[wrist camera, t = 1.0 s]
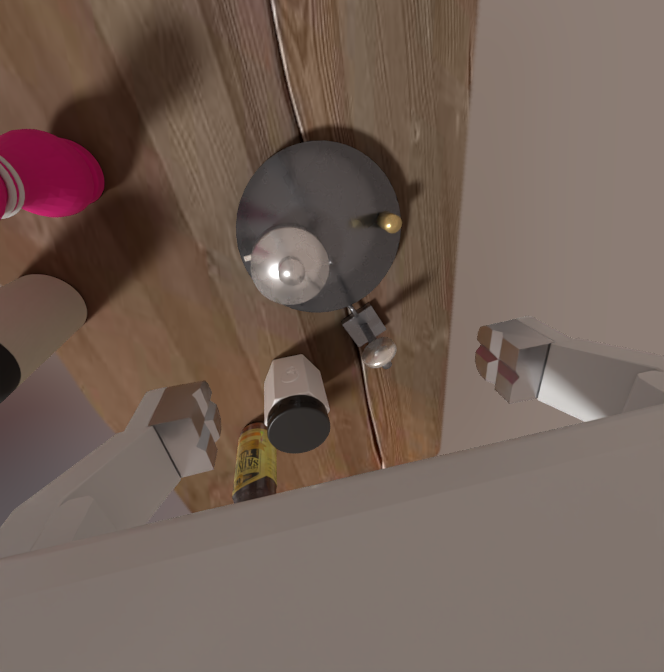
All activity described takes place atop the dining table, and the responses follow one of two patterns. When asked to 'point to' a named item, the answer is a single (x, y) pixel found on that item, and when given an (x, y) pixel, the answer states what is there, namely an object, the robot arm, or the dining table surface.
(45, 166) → the pepper mill
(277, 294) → the cover
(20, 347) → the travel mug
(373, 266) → the turntable
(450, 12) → the dining table surface
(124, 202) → the dining table surface
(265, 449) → the sauce bottle
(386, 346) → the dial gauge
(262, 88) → the dining table surface
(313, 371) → the jar
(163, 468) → the robot arm
